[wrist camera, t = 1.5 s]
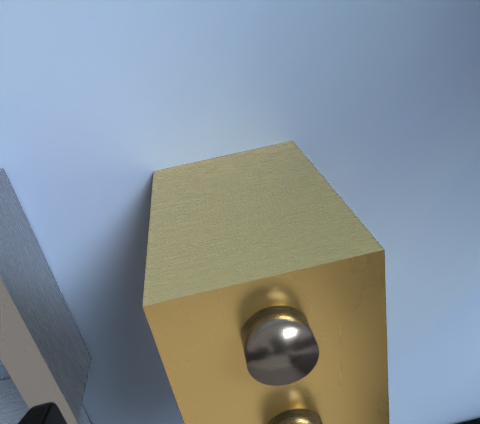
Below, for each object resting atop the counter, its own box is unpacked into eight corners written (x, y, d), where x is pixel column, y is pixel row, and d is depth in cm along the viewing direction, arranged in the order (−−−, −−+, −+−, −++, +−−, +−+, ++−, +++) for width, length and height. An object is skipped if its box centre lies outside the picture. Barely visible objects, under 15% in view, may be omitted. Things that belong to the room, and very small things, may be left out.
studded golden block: (310, 281, 15) (402, 469, 9) (193, 308, 15) (210, 519, 9) (292, 140, 12) (401, 270, 7) (153, 171, 12) (140, 332, 6)
